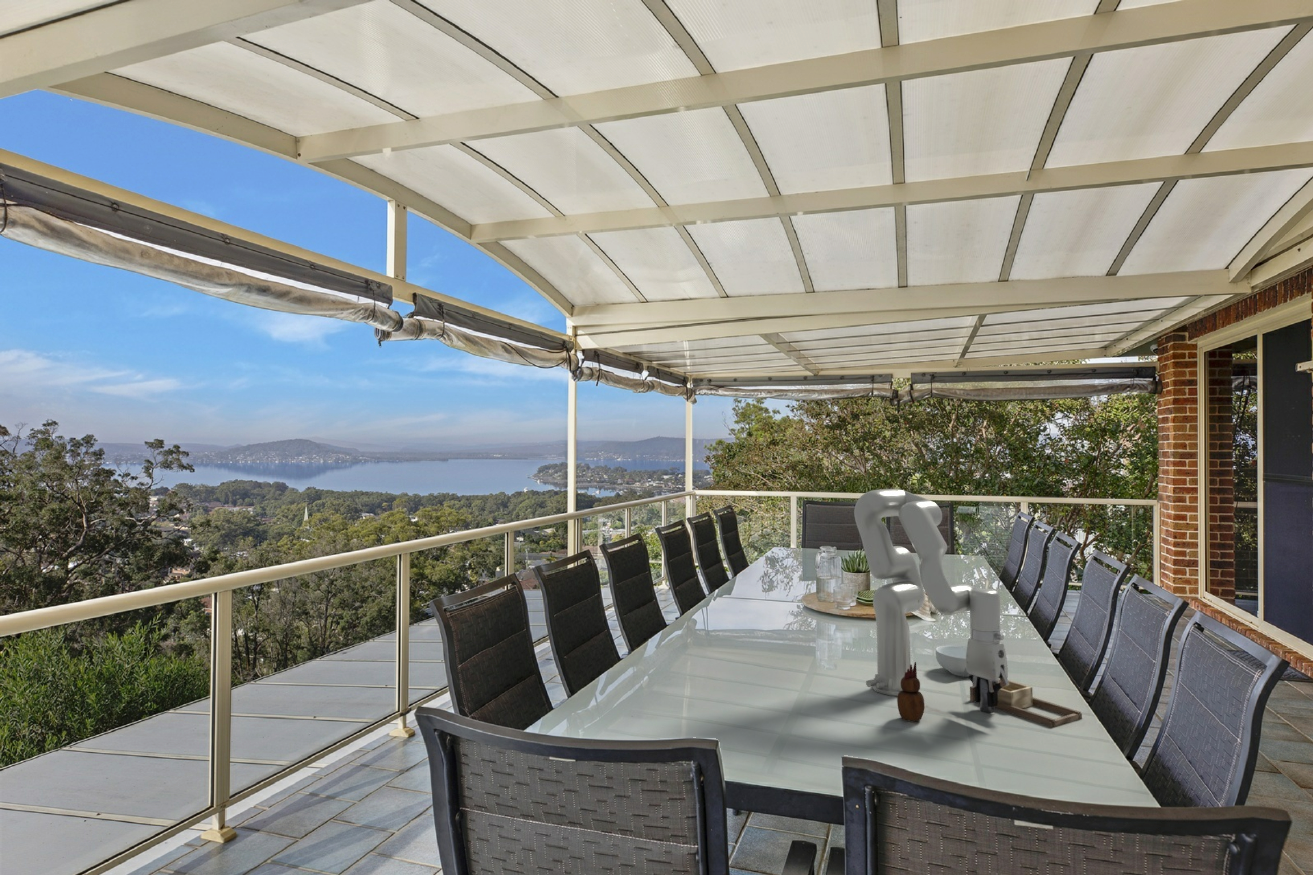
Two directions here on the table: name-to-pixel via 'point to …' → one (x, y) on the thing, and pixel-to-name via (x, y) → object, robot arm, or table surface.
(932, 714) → the table surface
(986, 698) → the handle peg
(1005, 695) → the crate
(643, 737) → the table surface
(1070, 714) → the tray
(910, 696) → the wooden figurine
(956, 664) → the cereal bowl
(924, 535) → the robot arm
